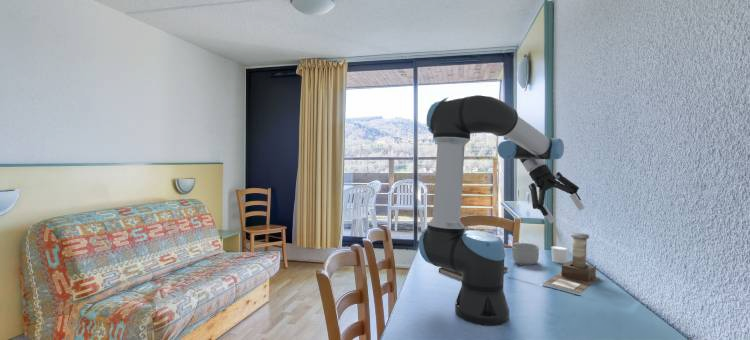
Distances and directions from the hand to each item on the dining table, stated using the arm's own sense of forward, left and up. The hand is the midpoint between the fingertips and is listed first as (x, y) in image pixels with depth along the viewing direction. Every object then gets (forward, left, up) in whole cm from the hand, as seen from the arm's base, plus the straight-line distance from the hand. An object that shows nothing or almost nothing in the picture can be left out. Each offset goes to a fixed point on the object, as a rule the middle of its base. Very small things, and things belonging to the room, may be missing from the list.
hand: (567, 216), depth 134 cm
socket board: (-4, -3, -24) cm, 25 cm away
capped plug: (+3, -3, -23) cm, 23 cm away
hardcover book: (-20, +27, -25) cm, 42 cm away
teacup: (+7, +20, -24) cm, 32 cm away
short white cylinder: (+18, +9, -24) cm, 31 cm away
